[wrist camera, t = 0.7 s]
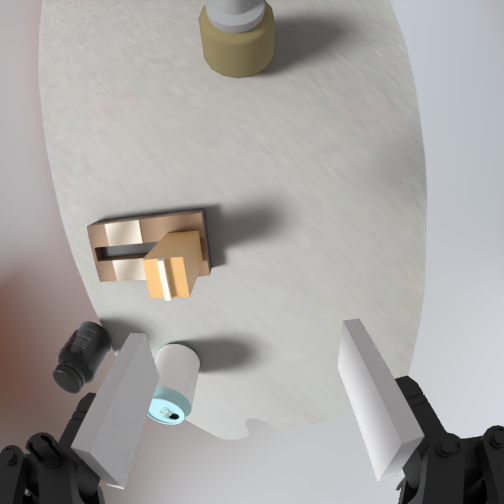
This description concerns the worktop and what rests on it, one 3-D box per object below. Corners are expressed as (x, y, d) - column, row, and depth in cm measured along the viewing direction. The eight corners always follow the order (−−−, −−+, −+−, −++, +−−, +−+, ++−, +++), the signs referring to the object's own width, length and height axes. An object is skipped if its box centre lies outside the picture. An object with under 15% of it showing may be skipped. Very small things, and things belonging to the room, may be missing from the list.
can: (199, 343, 42) (187, 400, 31) (201, 375, 45) (191, 430, 33) (156, 338, 42) (134, 391, 31) (160, 370, 44) (143, 422, 33)
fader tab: (200, 227, 35) (181, 259, 25) (204, 257, 36) (188, 299, 26) (169, 229, 35) (139, 262, 25) (174, 259, 36) (148, 301, 26)
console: (204, 208, 36) (201, 213, 33) (211, 268, 38) (209, 275, 36) (95, 221, 36) (86, 226, 33) (107, 274, 38) (99, 281, 36)
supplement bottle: (74, 333, 42) (41, 374, 31) (88, 312, 41) (53, 356, 29) (102, 358, 44) (76, 403, 33) (119, 340, 42) (91, 388, 31)
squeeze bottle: (209, 31, 28) (181, -50, 11) (273, 32, 28) (293, -50, 11) (205, 85, 30) (166, 28, 13) (271, 87, 31) (294, 28, 14)
